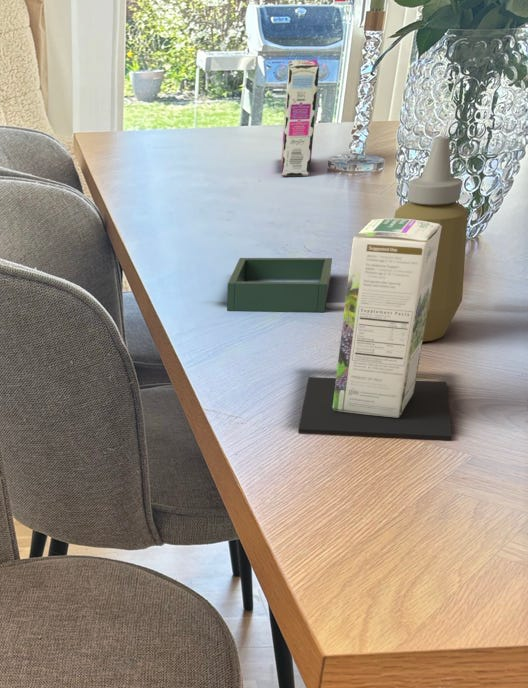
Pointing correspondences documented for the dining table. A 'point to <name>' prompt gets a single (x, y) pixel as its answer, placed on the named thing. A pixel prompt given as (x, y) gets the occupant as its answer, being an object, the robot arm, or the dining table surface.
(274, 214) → the dining table surface
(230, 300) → the tray
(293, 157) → the candy bar box
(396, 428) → the mat
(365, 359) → the syrup box
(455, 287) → the squeeze bottle
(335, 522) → the dining table surface
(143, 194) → the dining table surface
